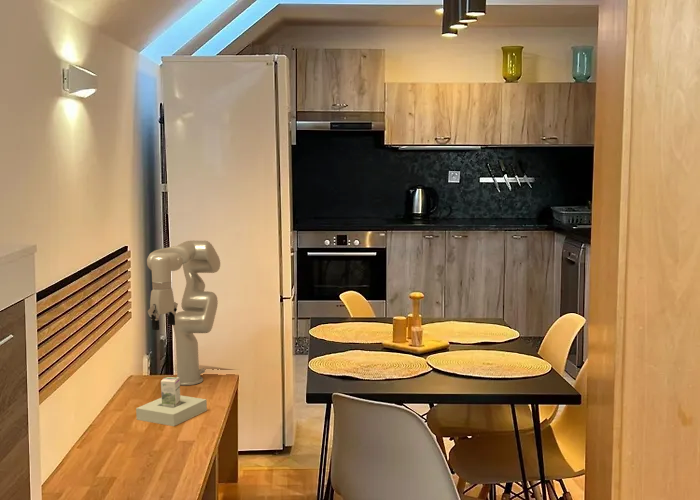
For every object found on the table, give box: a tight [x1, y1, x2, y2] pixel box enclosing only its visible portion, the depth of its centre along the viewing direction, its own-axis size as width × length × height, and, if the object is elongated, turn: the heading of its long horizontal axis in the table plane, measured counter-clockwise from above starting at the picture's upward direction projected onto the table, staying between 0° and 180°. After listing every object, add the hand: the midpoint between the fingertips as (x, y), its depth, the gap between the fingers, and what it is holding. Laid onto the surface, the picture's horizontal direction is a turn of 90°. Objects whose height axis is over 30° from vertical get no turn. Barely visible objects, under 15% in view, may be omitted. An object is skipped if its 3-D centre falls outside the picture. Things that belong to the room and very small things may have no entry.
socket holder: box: [135, 394, 208, 427], centre depth 315 cm, size 20×18×4 cm
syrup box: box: [160, 376, 181, 408], centre depth 314 cm, size 6×6×14 cm
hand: (163, 327), depth 331 cm, fingers open, 9 cm apart
